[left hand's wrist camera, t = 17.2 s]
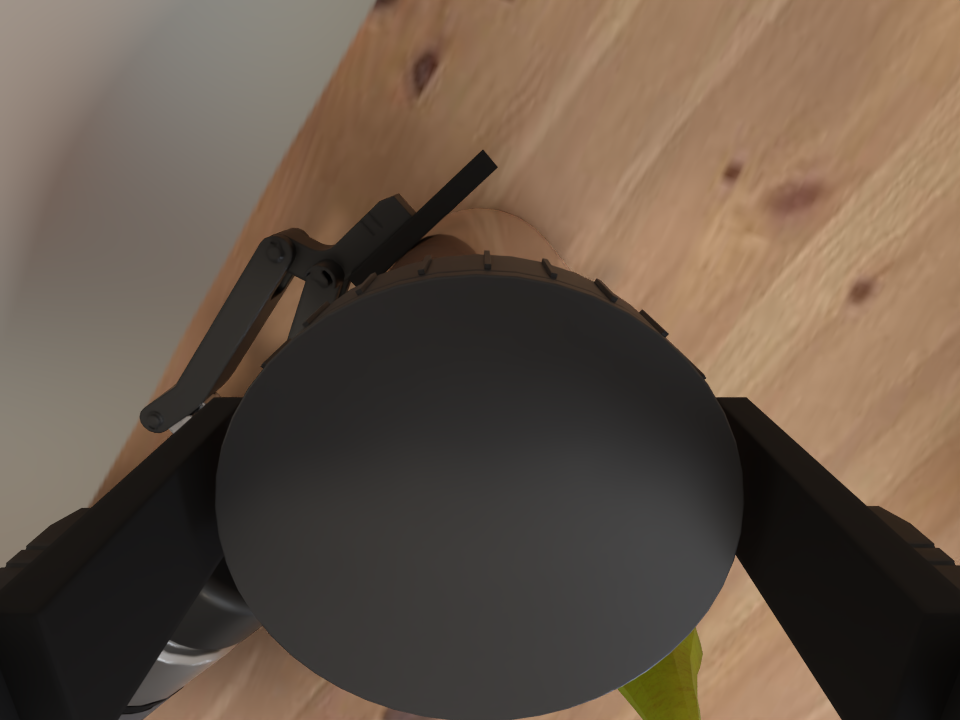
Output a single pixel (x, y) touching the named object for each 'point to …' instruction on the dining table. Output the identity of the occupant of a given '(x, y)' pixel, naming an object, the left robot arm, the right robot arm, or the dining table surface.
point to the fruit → (669, 685)
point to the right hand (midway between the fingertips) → (570, 256)
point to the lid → (479, 490)
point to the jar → (482, 238)
